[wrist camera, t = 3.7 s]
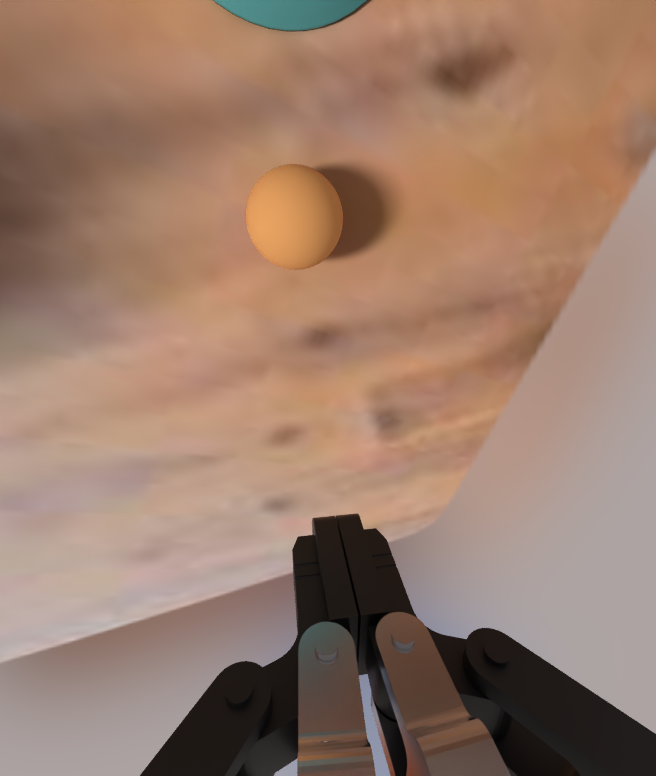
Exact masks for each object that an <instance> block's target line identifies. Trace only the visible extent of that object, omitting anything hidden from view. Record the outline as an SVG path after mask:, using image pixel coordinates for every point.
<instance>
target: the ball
mask: <svg viewBox="0 0 656 776" xmlns="http://www.w3.org/2000/svg"><path fill="white" fill-rule="evenodd" d="M246 222H247V228H248V232H249V235H250V237H251V240H252V242H253V243H254V245H255V247H256V248H257V250H258V251H259V252H260V253H261V254H262V255H263V256H264V257H265V258H266V259H267V260H269V261H270V262H272V263H273V264H275V265H277V266H280V267H283V268H286V269H294V270H299V269H306V268H310V267H312V266H315V265H317V264H319V263H320V262H322V261H323V260H324V259H326V258H327V257H328V256H329V255H330V254H331V252H332V251H333V250H334V248H335V247H336V245H337V243H338V241H339V238H340V235H341V232H342V227H343V211H342V205H341V202H340V199H339V196H338V194H337V192H336V190H335V189H334V187H333V186H332V184H331V183H330V182H329V181H328V180H327V179H326V178H325V177H324V176H323V175H322V174H321V173H319V172H318V171H316V170H314V169H312V168H310V167H307V166H303V165H297V164H289V165H283V166H279V167H277V168H274V169H272V170H271V171H269V172H267V173H266V174H265V175H263V176H262V177H261V178H260V179H259V180H258V182H257V183H256V184H255V186H254V188H253V189H252V191H251V193H250V196H249V199H248V203H247V208H246Z"/></svg>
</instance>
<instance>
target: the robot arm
mask: <svg viewBox="0 0 656 776" xmlns="http://www.w3.org/2000/svg"><path fill="white" fill-rule="evenodd" d="M312 531H313V535H309V536H300V537H298V538H297V540H296V543H295V545H294V548H293V550H292V551H293V573H294V591H295V603H296V617H297V629H298V635H297V638H296V641H295V643H294V645H293V646H292V647H291V649H290V650H289V651H288V652H287V653H286V654H285V655H284V656H283V657H281V658H279V659H278V660H276V661H274V662H272V663H270V664H268V665H266V666H264V667H261V666H260V665H258V664H256V663H253V662H247V661H245V662H238V663H235V664H232V665H230V666H229V667H227V668H225V669H224V670H223V671H222V672H221V673H220V674H219V675H218V676H217V678H216V679H215V680H214V681H213V683H212V684H211V685H210V686H209V688H208V689H207V690H206V692H205V693H204V694H203V695H202V697H201V698H200V699H199V701H198V702H197V703H196V704H195V706H194V707H193V708H192V710H191V711H190V712H189V713H188V715H187V716H186V717H185V719H184V720H183V721H182V722H181V724H180V725H179V726H178V727H177V729H176V730H175V732H174V733H173V734H172V735H171V736H170V738H169V739H168V740H167V742H166V743H165V744H164V745H163V747H162V748H161V749H160V751H159V752H158V753H157V754H156V756H155V757H154V758H153V760H152V761H151V762H150V763H149V765H148V766H147V767H146V769H145V770H144V771H143V772H142V774H141V775H140V776H274V774H275V772H277V771H278V770H280V769H282V768H283V767H285V766H286V765H288V764H289V763H291V762H292V761H294V760H295V759H297V758H298V776H376V775H375V768H374V761H373V755H372V750H371V746H370V743H369V742H368V740H367V734H366V728H365V720H364V712H363V705H362V697H361V690H360V682H359V675H363V674H368V677H369V682H370V686H371V707H372V711H373V715H374V719H375V722H376V726H377V729H378V732H379V736H380V740H381V743H382V747H383V750H384V754H385V757H386V761H387V764H388V768H389V771H390V775H391V776H656V734H655V733H653V732H652V731H650V730H649V729H647V728H646V727H644V726H643V725H641V724H640V723H638V722H637V721H635V720H634V719H632V718H631V717H629V716H628V715H626V714H625V713H623V712H622V711H620V710H619V709H617V708H616V707H614V706H613V705H611V704H610V703H608V702H607V701H605V700H604V699H602V698H601V697H599V696H598V695H596V694H594V693H593V692H592V691H590V690H589V689H587V688H585V687H584V686H582V685H581V684H580V683H578V682H577V681H575V680H574V679H572V678H571V677H569V676H568V675H566V674H565V673H563V672H562V671H560V670H558V669H557V668H555V667H554V666H553V665H551V664H550V663H548V662H546V661H545V660H543V659H542V658H541V657H539V656H537V655H536V654H534V653H533V652H531V651H530V650H528V649H527V648H525V647H524V646H522V645H521V644H519V643H518V642H516V641H515V640H513V639H512V638H510V637H509V636H507V635H506V634H504V633H502V632H500V631H498V630H495V629H490V628H481V629H477V630H475V631H473V632H472V633H471V634H470V635H469V636H468V638H467V639H462V638H456V637H451V636H446V635H442V634H439V633H436V632H434V631H432V630H430V629H429V628H427V627H426V626H425V625H424V624H423V623H422V622H421V621H420V620H419V619H418V618H417V617H416V615H415V613H414V611H413V609H412V606H411V604H410V601H409V598H408V596H407V593H406V590H405V588H404V585H403V582H402V580H401V577H400V574H399V572H398V569H397V567H396V564H395V561H394V559H393V556H392V553H391V551H390V548H389V545H388V542H387V540H386V539H385V538H384V536H383V535H382V534H381V533H380V532H379V531H378V530H377V529H376V528H375V529H365V530H364V529H363V526H362V523H361V520H360V517H359V514H348V515H338V516H336V518H335V516H329V517H319V518H313V519H312Z"/></svg>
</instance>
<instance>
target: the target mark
mask: <svg viewBox="0 0 656 776" xmlns="http://www.w3.org/2000/svg"><path fill="white" fill-rule="evenodd" d="M213 1H215V2H216V3H217V4H219V5H220V6H222V7H223V8H225V9H226V10H228V11H229V12H231V13H232V14H234V15H236V16H238V17H240V18H242V19H244V20H246V21H248V22H250V23H253V24H256V25H259V26H262V27H265V28H268V29H275V30H282V31H305V30H311V29H316V28H321V27H323V26H326V25H329V24H332V23H334V22H337V21H338V20H340V19H342V18H344V17H346V16H347V15H349V14H351V13H352V12H354V11H355V10H356V9H357V8H359V7H360V6H361V5H362V4H364V3H365V2H366V1H367V0H213Z"/></svg>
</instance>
